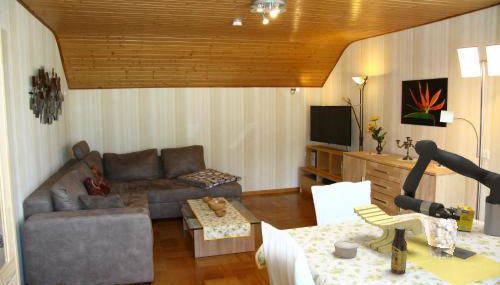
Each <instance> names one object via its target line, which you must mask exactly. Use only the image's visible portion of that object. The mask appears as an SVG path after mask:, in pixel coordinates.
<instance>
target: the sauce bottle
mask: <svg viewBox="0 0 500 285" xmlns="http://www.w3.org/2000/svg"><path fill="white" fill-rule="evenodd" d="M395 231H396V232H395V238H394V241H393V243H392V251H391V252H390V254H391V255H390V257H391V258H390V270H391V271H392V272H393V273H394V274H405V273H406V270H407V256H408V255H407V253H408V242H407V240H405V239H404V238H405V227H402V226H396V227H395Z"/></svg>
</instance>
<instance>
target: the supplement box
mask: <svg viewBox="0 0 500 285" xmlns="http://www.w3.org/2000/svg"><path fill="white" fill-rule="evenodd" d="M475 212H476V211H475V210H474V209H473V207H471V206H468V205H460V204H459V205H457V213H456V215H458V216H460V220H459V221H458V220H456V222H457V226H458V228H457V229H456V231H457V232H461V233H462V232H463V233H469V234H471V232H472V229H473V228H472V227H473V222H474V218H475V217H474V216H475Z"/></svg>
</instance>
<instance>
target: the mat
mask: <svg viewBox="0 0 500 285" xmlns="http://www.w3.org/2000/svg"><path fill="white" fill-rule="evenodd" d="M476 254H477V252H475V251H472V250H467V249H465V248H463V247H462V248H461V247H457V246H455V249H454V252H453V256H452V257H456V258H460V259H462V260H466V259H468V258H470V257H473V256H474V255H476Z"/></svg>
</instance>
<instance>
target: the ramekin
mask: <svg viewBox="0 0 500 285" xmlns="http://www.w3.org/2000/svg"><path fill="white" fill-rule="evenodd" d="M333 246H334V251H335V252H334V253H335V254H336V255H337V256H338V257H340V258H343V259H351V258H355V256H357V251H358V248H359V244H358V243H356V242H354V241H353V240H352V241H351V240H337V241H335V242H334V244H333Z"/></svg>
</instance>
